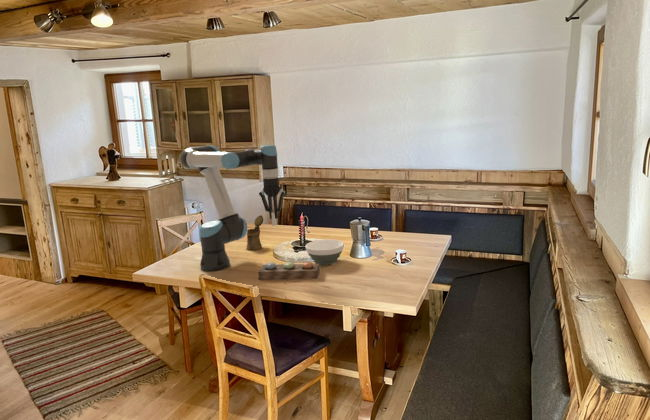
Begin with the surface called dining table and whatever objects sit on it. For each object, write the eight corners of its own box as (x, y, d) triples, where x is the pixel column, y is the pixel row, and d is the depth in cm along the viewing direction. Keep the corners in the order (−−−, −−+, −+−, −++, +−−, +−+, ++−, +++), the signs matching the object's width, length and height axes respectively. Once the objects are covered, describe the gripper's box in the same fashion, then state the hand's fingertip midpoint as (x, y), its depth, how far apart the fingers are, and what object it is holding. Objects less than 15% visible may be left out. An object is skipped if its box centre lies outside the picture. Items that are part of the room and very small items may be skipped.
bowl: (323, 254, 254) (322, 237, 252) (352, 259, 241) (351, 242, 239) (298, 264, 239) (297, 246, 237) (328, 271, 227) (327, 252, 225)
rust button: (302, 274, 220) (301, 265, 219) (304, 270, 225) (303, 262, 224) (312, 274, 219) (311, 265, 219) (313, 270, 224) (313, 261, 223)
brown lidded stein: (269, 244, 279) (267, 215, 276) (255, 251, 268) (252, 220, 265) (258, 243, 284) (255, 214, 280) (243, 249, 273) (240, 219, 269)
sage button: (283, 274, 221) (282, 265, 220) (285, 271, 226) (285, 262, 225) (293, 274, 221) (292, 265, 220) (295, 271, 225) (294, 262, 224)
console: (258, 279, 221) (257, 271, 220) (264, 272, 230) (263, 264, 230) (317, 278, 217) (316, 270, 216) (320, 271, 227) (319, 263, 226)
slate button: (265, 275, 223) (264, 266, 222) (267, 271, 227) (266, 262, 226) (275, 274, 222) (274, 265, 221) (277, 271, 227) (276, 262, 226)
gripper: (255, 179, 222) (259, 227, 227) (282, 178, 220) (285, 226, 225) (260, 176, 230) (263, 223, 235) (285, 175, 227) (289, 222, 232)
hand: (274, 224), depth 230 cm, fingers closed
